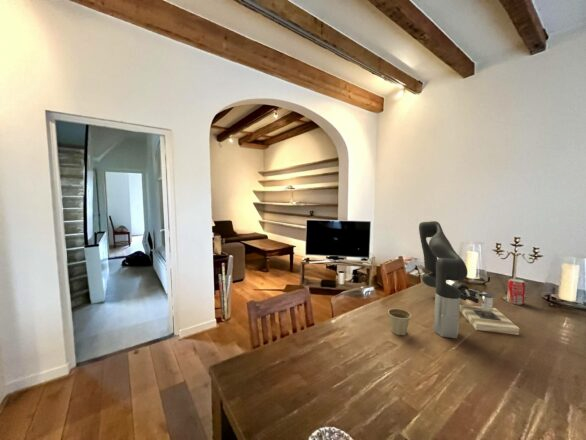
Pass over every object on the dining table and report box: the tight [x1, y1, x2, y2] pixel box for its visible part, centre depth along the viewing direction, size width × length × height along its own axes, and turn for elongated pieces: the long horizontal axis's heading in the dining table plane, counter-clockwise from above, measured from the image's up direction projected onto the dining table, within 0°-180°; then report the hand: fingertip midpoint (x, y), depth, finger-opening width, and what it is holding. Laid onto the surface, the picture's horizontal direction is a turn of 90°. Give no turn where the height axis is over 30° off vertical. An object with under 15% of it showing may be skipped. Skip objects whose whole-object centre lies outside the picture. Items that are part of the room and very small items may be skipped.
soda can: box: [506, 278, 526, 306], centre depth 140 cm, size 7×7×13 cm
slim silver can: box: [481, 290, 495, 318], centre depth 119 cm, size 5×5×14 cm
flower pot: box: [387, 308, 412, 336], centre depth 110 cm, size 9×9×9 cm
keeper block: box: [459, 304, 520, 336], centre depth 119 cm, size 20×16×3 cm
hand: (485, 300), depth 120 cm, fingers open, 8 cm apart
